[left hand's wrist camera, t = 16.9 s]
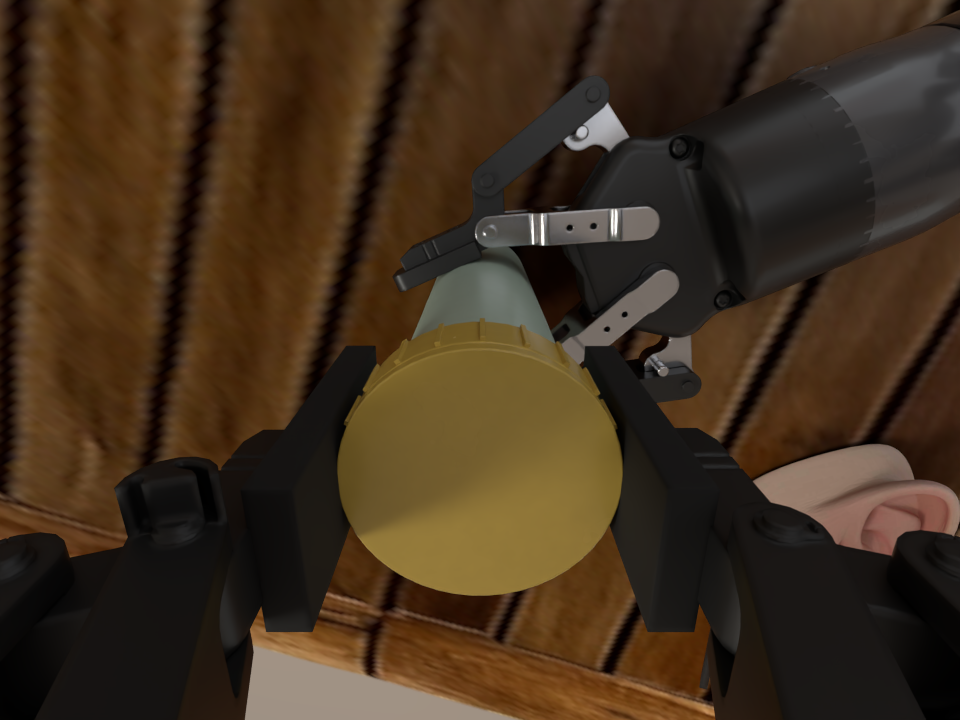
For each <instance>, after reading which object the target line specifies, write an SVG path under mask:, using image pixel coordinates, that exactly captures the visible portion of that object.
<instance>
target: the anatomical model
mask: <svg viewBox="0 0 960 720" xmlns="http://www.w3.org/2000/svg"><path fill="white" fill-rule="evenodd" d="M753 482H754V483H755V484H756V486H757V487H758V488H759V489H760V490H761V491H762V493H763V494H764V495H765V496H766V497H767V498H768V500H769V501H770V502H771V503H775V504H780V505H784V506H788V507H791V508H793V509H796V510H798V511H800V512H803V513H805V514H807V515H809V516H810V517H812V518H813V519H815V520H816V521H818V522H819V523H820V524H822V525H823V526H824V527H825V528H826V530H827V531H828V532H829V533H830V534H831V536H832V537H833V539H834V541H835V543H836V544H839V545H843V546H847V547H852V548H857V549H862V550H867V551H872V552H877V553H882V554H887V555H892V552H893V549H894V546H895V543H896V540H897V538H898V537H899V536H900V535H902V534H903V533H904V532H908V531H916V530H925V531H932V532H942V533H946V534H951V535H952V536H954V534H955V532H956V530H957V527H958V524H959V520H960V504H959V500H958V498H957V496H956V494H955V493H954V492H953V491H952V490H951V489H950V488H948V487H947V486H945V485H943V484H940V483H937V482H934V481H928V480H914V476H913V473H912V470H911V468H910V466H909V464H908V462H907V460H906V458H905V457H904V456H903V455H902V454H901V453H900V452H899V451H898V450H897V449H895V448H893V447H891V446H889V445H882V444H868V445H861V446H855V447H849V448H845V449H840V450H836V451H832V452H828V453H825V454H821V455H817V456H814V457H811V458H808V459H804V460H801V461H798V462H795V463H792V464H789V465H787V466H784V467H781V468H779V469H776V470H774V471H772V472H769V473H767V474H765V475H763V476H761V477H759V478H757V479H756V480H754V481H753Z"/></svg>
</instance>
